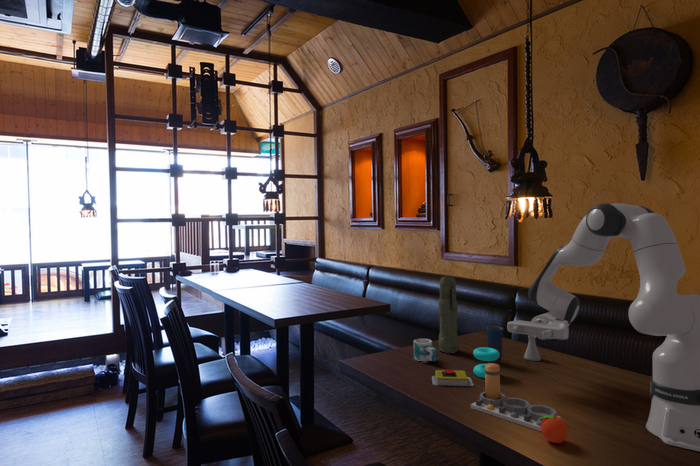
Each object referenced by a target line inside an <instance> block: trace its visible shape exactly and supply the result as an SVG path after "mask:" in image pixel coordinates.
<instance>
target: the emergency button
mask: <svg viewBox="0 0 700 466" xmlns="http://www.w3.org/2000/svg"><path fill="white" fill-rule="evenodd" d="M431 377H432V378H431V382H432V386H446V385H447V386H451V387H452V386H453V387H457V386H458V387H473V386H474V385H475V384H474V383H473V380H472V378H471V377H470V376H467V374H466V371H465V370H460V369H459V370H458V369H457V370H455V369H454V370H453V369H447V368H446V369H435V372H434V375H432V376H431Z"/></svg>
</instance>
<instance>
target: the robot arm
mask: <svg viewBox="0 0 700 466" xmlns="http://www.w3.org/2000/svg"><path fill="white" fill-rule="evenodd" d="M612 238H618V239H628V240H629V242H630V244H631V248H632V251H633V255H634V259H635V262H636V265H637V270H638V274H639V279H640V281H639V284H640V285H639V291H638V293H637V295H636V296H637V297H636V298H635V299H634V300H633V302H631V304H630V306H629V307H628V315H627V316H628V320H629V323H630V324H631V326H632V327H633V328H634V329H635V330H636V331H637V332H638V333H640V334H643V335H649V336H656V337H663V336H665V340H664V341H663V343H661V344H660V345H659V346H658V347H657V348H656V349H655V350H654V351H653V352H652V378H651V379H650V384H649V385H650V386H649V389H650V390H649V393H650V399H651V403H650V404H651V405H650V410H649V415H648V419H647V422H646V424H645V428H646V429H647V431H648V432H650V433H651V434H652V435H654V436H656V437H657V438H659V439H660V440H661V441H662V442H663V443H664V444H667V445H669V446H673V447H678V448H681V449H687V450H691V451H697V452H699V453H700V294H695V293H693V294H678V288H677V287H678V281H679V280H680V279H681V278H683V276H685V274H686V270H687V268H686V265H685V261H684V258H683V256H682V253H681V250H680V247H679V244H678V240H677V239H676V236H675V234H674V232H673V230H672V228H671V226H670V225H669V223H668V221H667V219H666V218H665V217H664V216H663V215H661V214H659V213H656V212H655V211H653V210H652V209H650V208H649V207H646V206H643V205H634V204H626V203H618V202H617V203H607V202H604V203H598V204H595V205H593V206H592V207H590V208H589V210H588V212H587V213H586V215H585V216H583V218H582V219H581V221H580V222H579V224H578V225H577V227H576V228H575V231H574V233H573V236H572V238H571V239H570V241H569V242H568V243H567V244H566V245H562V246H559V247H558V248H557V249H556V250H555V251H553V252H554V253H552V255H551V256H550V258H549V259H548V261H547V262H546V263H545V265H544V267H542V270H541V272H540V273H539V274H538V276H537V278H536V279H535V280H534V281H533V283H532V284H531V285H530V287H529V288H528V291H527V294H528V298H529V300H530V302H531V303H532V304H535V305H537V306H539V307H542V308H543V309H545V310H547V311H548V312H545V313H542V314H539V315H536V316H534V317H533V318H532V319H531V321H530V320H529V321H527V320H521V319H520V320H512V321H507V325H506V328H507V329H506V330H507V332H509V333H512V334H514V335H515V334H517V335H518V334H520V335H521V334H522V335H528V336H530V335H532V336H536V338H537V339H540V340H542V341H543V340H545V341H546V340H552V339H556V340H562V341H563V340H568V339H569V326H570V324H571V323H573V322H574V321H575V319H577V317H578V315H579V313H580V310H581V305H580V300H579V298H578V297H577V296H576V295H574V294H572V293H570V292H568V291H567V290H564V289H562V288H560V287H559V286H557V285H555V284H553V283H552V280H553V278H554V276H555V275H556V273H557V272H558V270H559V269H560V268H561V266H571V267H572V266H573V267H591V266H593V265H595V264H597V263H598V262H600V260H601V259H602V258H603V256H604V253H605V251H606V250H607V247H608V244H609V242H610V240H611V239H612Z"/></svg>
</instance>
